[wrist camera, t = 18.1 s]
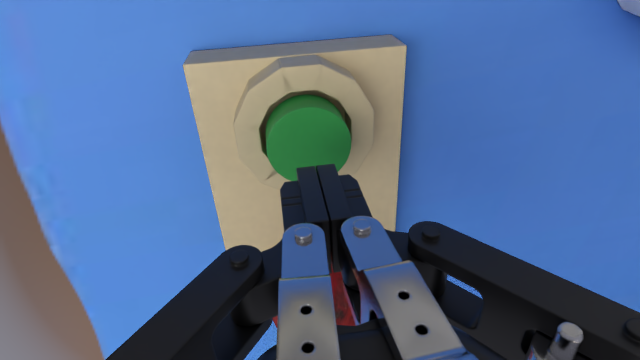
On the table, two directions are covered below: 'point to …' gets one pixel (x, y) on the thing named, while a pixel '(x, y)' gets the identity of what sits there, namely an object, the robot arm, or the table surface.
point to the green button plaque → (272, 89)
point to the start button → (306, 135)
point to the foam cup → (630, 6)
